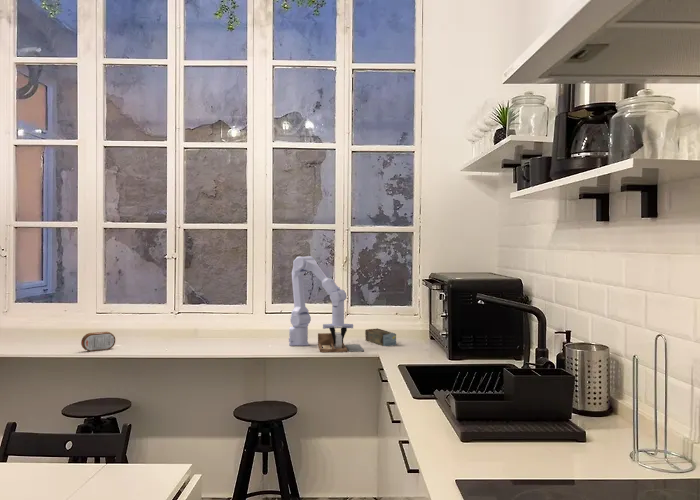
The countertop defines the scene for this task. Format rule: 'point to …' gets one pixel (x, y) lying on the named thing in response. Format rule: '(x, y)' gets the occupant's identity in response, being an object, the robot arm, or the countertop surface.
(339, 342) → the shiny grey metal block
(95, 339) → the tin
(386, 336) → the beverage carton
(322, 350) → the rack
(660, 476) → the countertop surface
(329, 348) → the offcut top
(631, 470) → the countertop surface
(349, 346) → the mat
